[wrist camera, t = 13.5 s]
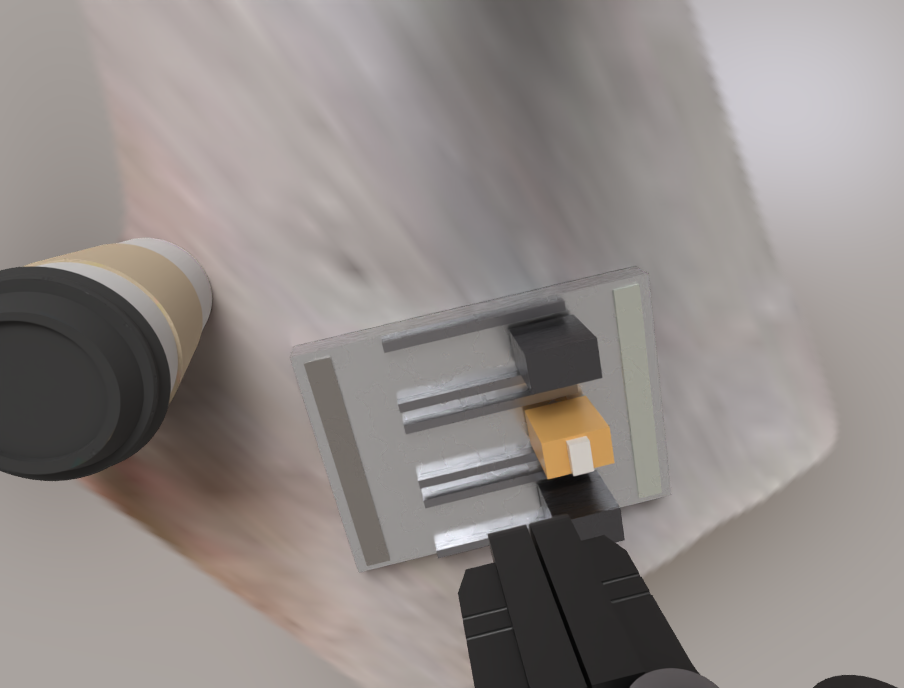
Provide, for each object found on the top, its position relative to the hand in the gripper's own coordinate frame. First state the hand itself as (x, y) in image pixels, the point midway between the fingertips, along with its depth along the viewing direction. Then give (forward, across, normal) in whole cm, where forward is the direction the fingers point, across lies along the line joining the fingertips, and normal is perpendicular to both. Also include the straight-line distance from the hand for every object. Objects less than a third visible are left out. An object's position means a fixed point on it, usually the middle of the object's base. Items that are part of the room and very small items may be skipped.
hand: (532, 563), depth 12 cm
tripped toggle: (+27, -6, +12) cm, 30 cm away
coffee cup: (+29, +16, -1) cm, 33 cm away
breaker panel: (+29, -2, +12) cm, 31 cm away
